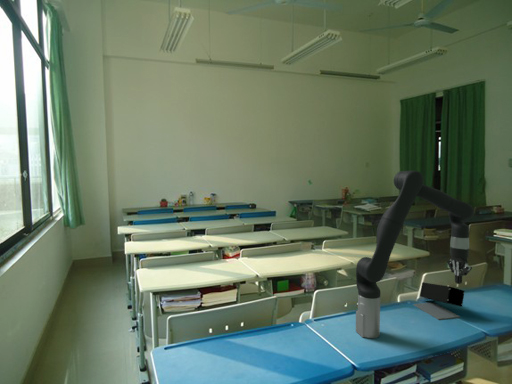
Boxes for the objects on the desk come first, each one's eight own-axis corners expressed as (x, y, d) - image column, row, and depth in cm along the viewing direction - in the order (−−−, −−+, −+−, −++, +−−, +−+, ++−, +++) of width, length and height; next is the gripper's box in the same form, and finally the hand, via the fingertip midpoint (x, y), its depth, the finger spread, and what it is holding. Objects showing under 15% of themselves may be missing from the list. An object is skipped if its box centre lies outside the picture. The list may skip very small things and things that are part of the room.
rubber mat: (438, 319, 164) (438, 318, 164) (413, 305, 183) (413, 304, 182) (460, 317, 167) (460, 316, 167) (433, 303, 185) (433, 302, 185)
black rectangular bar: (465, 290, 166) (432, 285, 194) (449, 286, 166) (419, 281, 194) (462, 307, 165) (430, 299, 193) (446, 302, 165) (416, 295, 192)
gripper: (442, 243, 165) (441, 279, 166) (463, 250, 152) (462, 288, 153) (455, 243, 166) (454, 278, 167) (478, 249, 153) (476, 287, 154)
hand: (458, 283), depth 160 cm, fingers closed
